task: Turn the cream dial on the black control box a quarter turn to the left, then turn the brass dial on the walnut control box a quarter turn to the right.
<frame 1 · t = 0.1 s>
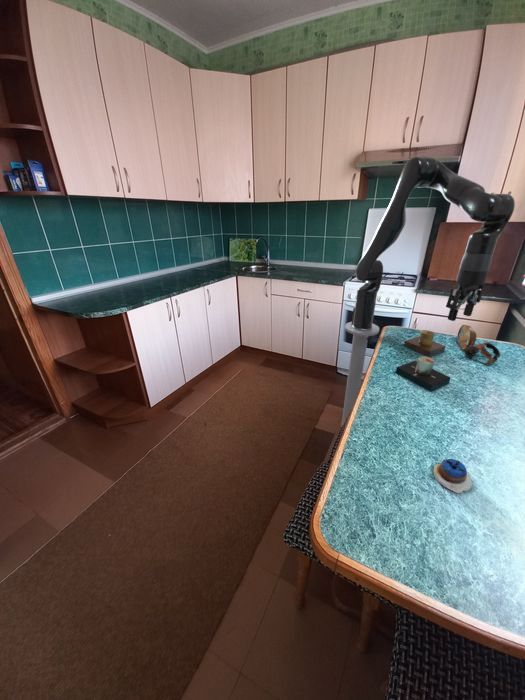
hand: (459, 317, 96), 22 cm above the table, tool pointing down, fingers open, 8 cm apart
tin: (463, 346, 126), on the table
dessert: (451, 478, 66), on the table
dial: (424, 365, 102), point 5 cm above the table, hinge at 0.0°
control box: (421, 378, 104), on the table
dial b: (426, 337, 123), point 5 cm above the table, hinge at 0.0°
brown black curved band: (477, 360, 115), on the table
walnut box: (423, 348, 125), on the table
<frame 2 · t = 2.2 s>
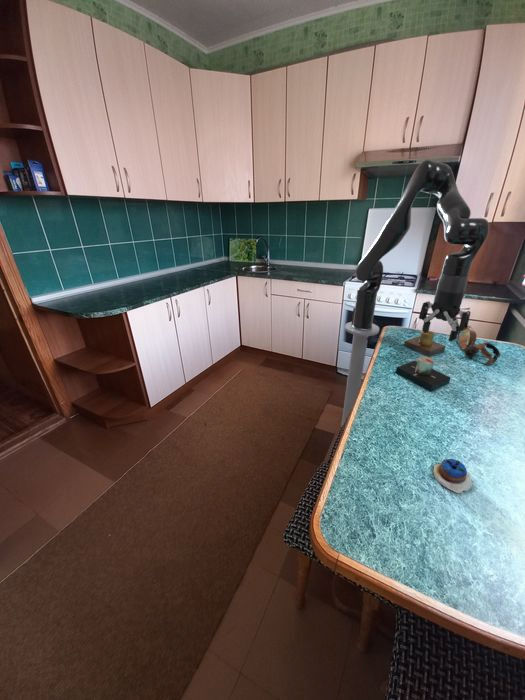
hand: (437, 336, 97), 16 cm above the table, tool pointing down, fingers open, 8 cm apart
nothing on the table moved.
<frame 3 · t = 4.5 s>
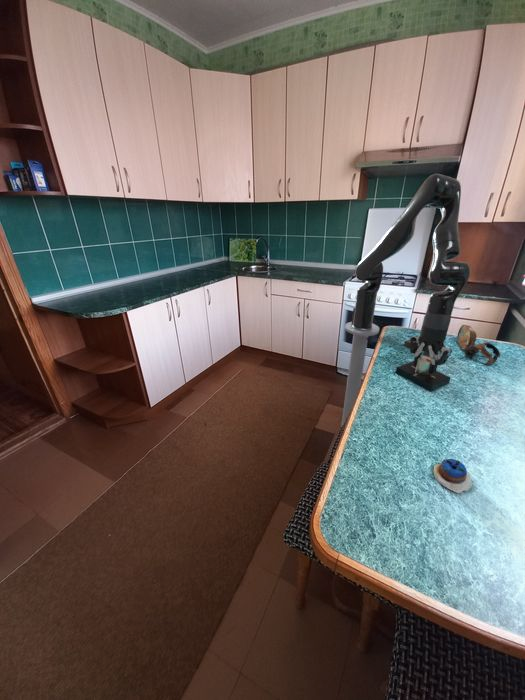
hand: (423, 369, 102), 4 cm above the table, tool pointing down, fingers closed on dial, 5 cm apart
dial: (424, 365, 102), point 5 cm above the table, hinge at 0.0°, touching gripper
everything else where it was.
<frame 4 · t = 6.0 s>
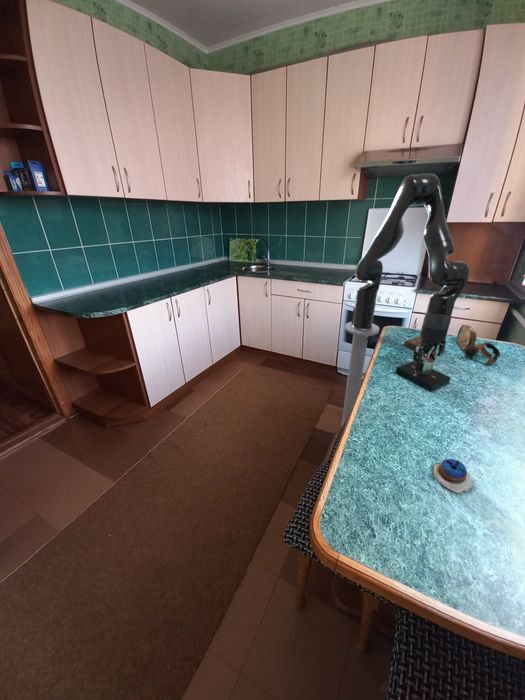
hand: (423, 369, 102), 4 cm above the table, tool pointing down, fingers closed on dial, 5 cm apart
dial: (424, 365, 102), point 5 cm above the table, hinge at 90.3°, touching gripper
everything else where it was.
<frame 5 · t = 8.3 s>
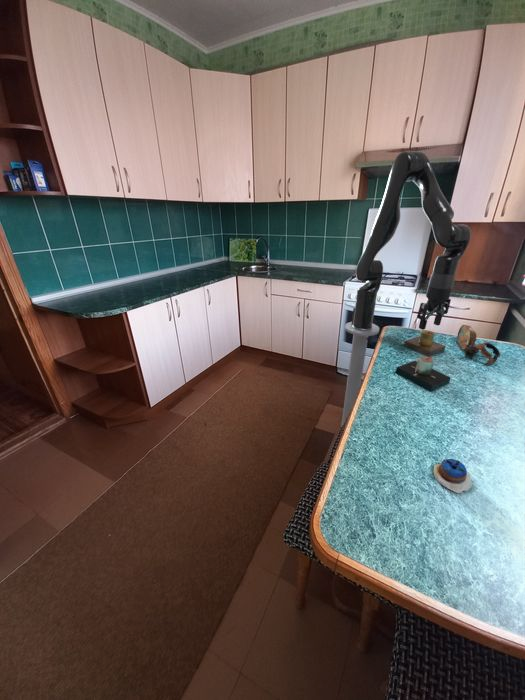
hand: (429, 326, 111), 14 cm above the table, tool pointing down, fingers open, 8 cm apart
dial: (424, 365, 102), point 5 cm above the table, hinge at 90.1°
everything else where it was.
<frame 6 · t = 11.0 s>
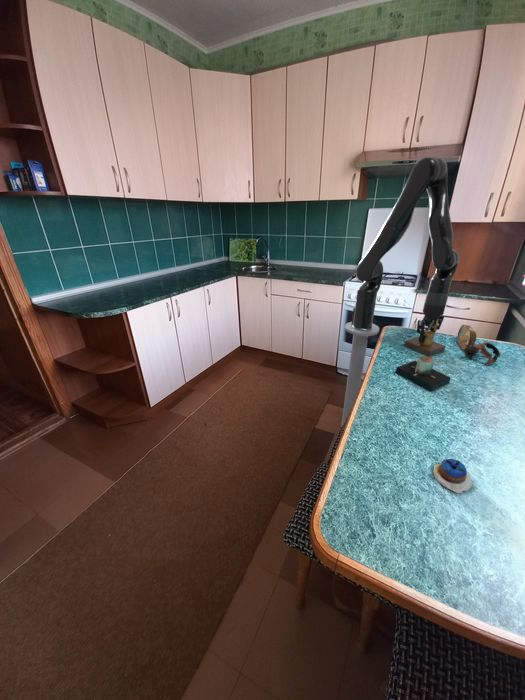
hand: (425, 340, 123), 4 cm above the table, tool pointing down, fingers closed on dial b, 5 cm apart
dial b: (426, 337, 123), point 5 cm above the table, hinge at 0.2°, touching gripper
everything else where it was.
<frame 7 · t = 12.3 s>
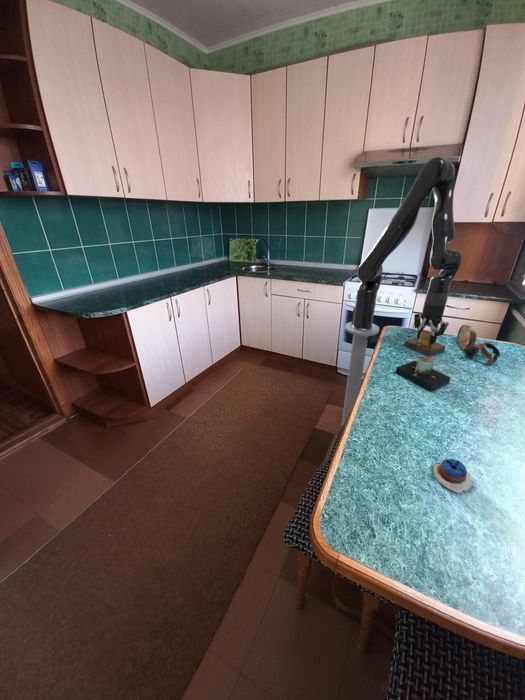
hand: (425, 340, 123), 4 cm above the table, tool pointing down, fingers closed on dial b, 5 cm apart
dial b: (426, 337, 123), point 5 cm above the table, hinge at -93.2°, touching gripper
everything else where it was.
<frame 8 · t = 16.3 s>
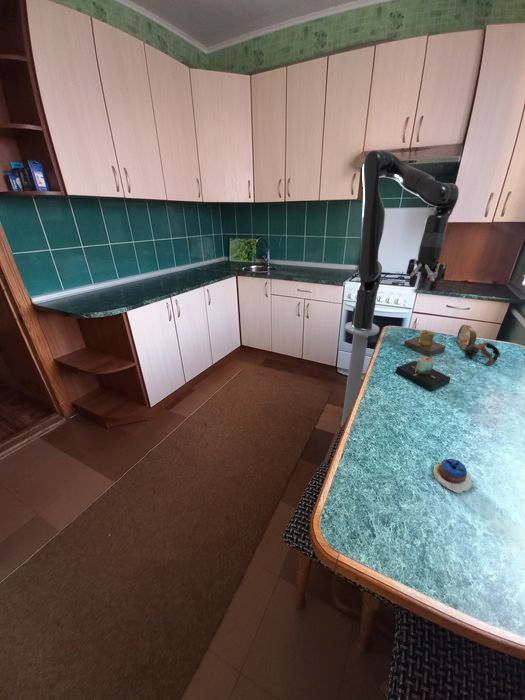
hand: (421, 288, 114), 26 cm above the table, tool pointing down, fingers open, 8 cm apart
dial b: (426, 337, 123), point 5 cm above the table, hinge at -93.8°
everything else where it was.
at the end: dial at +90° (first picture: +0°); dial b at -94° (first picture: +0°) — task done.
